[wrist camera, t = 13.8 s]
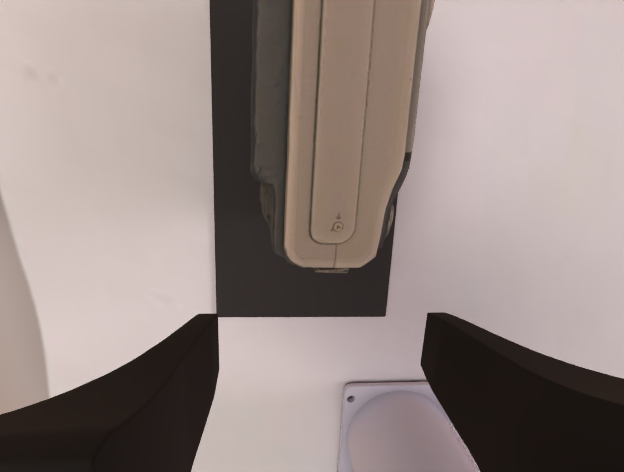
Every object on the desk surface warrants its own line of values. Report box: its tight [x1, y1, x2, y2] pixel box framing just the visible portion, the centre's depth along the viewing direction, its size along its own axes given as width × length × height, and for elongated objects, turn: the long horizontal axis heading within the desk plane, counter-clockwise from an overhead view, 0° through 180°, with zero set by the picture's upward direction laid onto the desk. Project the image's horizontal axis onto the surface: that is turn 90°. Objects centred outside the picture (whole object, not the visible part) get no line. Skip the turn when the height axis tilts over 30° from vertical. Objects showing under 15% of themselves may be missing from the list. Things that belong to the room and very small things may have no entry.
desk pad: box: [210, 0, 398, 317], centre depth 20 cm, size 20×11×1 cm, turn 177°
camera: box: [251, 0, 435, 273], centre depth 15 cm, size 11×6×10 cm, turn 175°
